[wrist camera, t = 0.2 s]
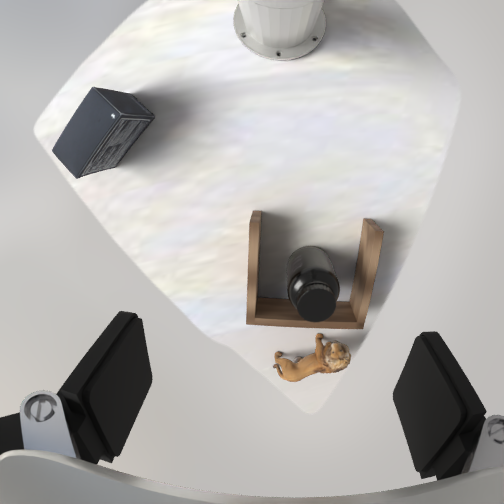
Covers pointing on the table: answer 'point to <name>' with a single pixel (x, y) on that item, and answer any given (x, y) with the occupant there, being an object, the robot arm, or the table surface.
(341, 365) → the lion figurine
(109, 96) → the small box
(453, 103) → the table surface
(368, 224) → the walnut u-shaped bracket
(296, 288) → the supplement bottle
